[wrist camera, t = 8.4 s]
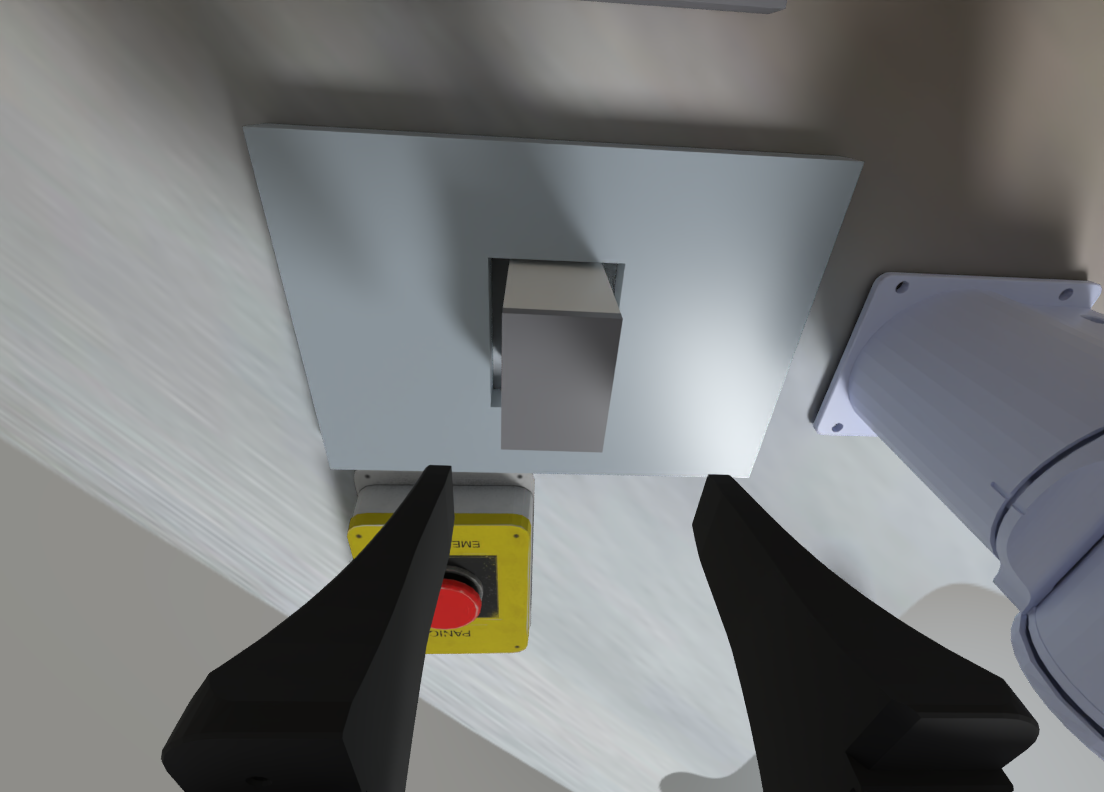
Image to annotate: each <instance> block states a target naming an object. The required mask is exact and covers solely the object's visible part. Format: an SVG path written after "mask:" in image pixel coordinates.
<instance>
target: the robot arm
mask: <svg viewBox="0 0 1104 792" xmlns="http://www.w3.org/2000/svg"><path fill="white" fill-rule="evenodd" d="M901 282H903V284H902V286H901V287H900V288H899V289H897V290H896V287H897V285H898V284H899V283H901ZM1101 291H1102V287H1101V286H1100V284H1097V283H1094V282H1091V281H1081V280H1059V279H1036V278H1014V277H991V276H968V275H946V274H923V273H901V272H887V273H884V274H882V275H880V276H879V277H878V278H877V279H876V280H875V282H874V283H873V286H872V288H871V290H870V293H869V295H868V297H867V300H866V302H865V304H864V307H863V309H862V311H861V314H860V316H859V318H858V321H857V323H856V325H855V328H854V330H853V332H852V335H851V337H850V339H849V342H848V344H847V346H846V349H845V351H844V353H843V356H842V358H841V360H840V363H839V365H838V367H837V370H836V372H835V374H834V377H833V379H832V381H831V384H830V386H829V389H828V391H827V393H826V396H825V398H824V400H823V403H822V405H821V407H820V410H819V412H818V414H817V417H816V419H815V421H814V425H813V427H814V429H815V430H816V432H817V433H819V434H821V435H841V436H878V437H879V438H880V439H881V440H882V441H883V442H884V443H885V444H886V445H887V446H888V447H889V448H890V449H891V450H892V451H893V452H894V453H895V454H896V455H897V456H898V457H899V458H900V459H901V460H902V461H903V462H904V463H905V464H906V465H907V466H908V467H909V468H910V470H911V471H912V472H913V473H914V474H915V475H916V476H917V477H918V478H919V479H920V480H921V481H922V482H923V483H924V484H925V485H926V486H927V487H928V488H929V489H930V490H931V491H932V492H933V493H934V494H935V495H936V496H937V497H938V498H939V499H940V500H941V501H942V502H943V503H944V504H945V505H946V506H947V507H948V508H949V509H950V510H951V511H952V512H953V513H954V514H955V515H956V517H957V518H958V519H959V520H960V521H961V522H962V523H963V524H964V525H965V526H966V527H967V528H968V529H969V530H970V531H971V532H972V533H973V534H974V535H975V536H976V537H977V538H978V539H979V540H980V541H981V542H982V543H983V544H984V545H985V546H986V547H987V548H988V549H989V550H990V551H991V552H992V553H993V554H994V555H995V556H996V557H997V558H998V559H999V560H1000V563H1001V565H1000V569H999V572H998V573H997V575H996V576H995V578H994V579H993V582H994V583H995V585H996V586H997V587H998V588H999V589H1000V590H1001V591H1002V592H1003V593H1004V594H1005V595H1006V596H1007V598H1008V599H1009V600H1010V601H1011V602H1012V603H1013V604H1014V605H1015V606H1016V607H1017V608H1018V609H1019V611H1020V612H1019V613H1018V614H1017V615H1016V616H1015V618H1014V621H1013V624H1012V627H1011V642H1012V646H1013V650H1014V654H1015V656H1016V659H1017V661H1018V663H1019V665H1020V668H1021V670H1022V671H1023V673H1024V675H1025V676H1026V678H1027V679H1028V681H1029V683H1030V684H1031V686H1032V687H1033V689H1034V690H1035V692H1036V693H1037V694H1038V695H1039V697H1040V698H1041V699H1042V700H1043V702H1044V703H1045V704H1046V705H1047V707H1048V708H1049V709H1050V710H1051V712H1052V713H1053V714H1054V715H1055V716H1056V717H1057V718H1058V719H1059V720H1060V721H1061V722H1062V723H1063V725H1064V726H1065V727H1066V728H1067V729H1069V730H1070V732H1072V733H1073V734H1074V735H1075V736H1076V737H1077V738H1078V739H1079V740H1080V741H1081V742H1082V743H1083V744H1084V745H1085V746H1086V747H1088V748H1089V749H1090V750H1091V751H1092V752H1094V753H1095V754H1096V755H1097V756H1098V757H1100V758H1101V759H1102V760H1103V761H1104V315H1103V314H1101V313H1098V312H1096V311H1093V310H1091V307H1092V306H1093V304H1094V303H1095V301H1096V300H1097V299H1098V297H1099V296H1100V294H1101ZM837 423H838V424H837ZM835 424H837V425H836V426H834V425H835ZM833 426H834V427H833ZM454 520H455V514H454V498H453V481H452V466H448V465H428V466H427V467H426V468H425V469H424V471H423V473H422V474H421V476H420V477H419V479H418V480H417V482H416V483H415V485H414V486H413V488H412V489H411V491H410V492H409V493H408V495H407V496H406V498H405V499H404V500H403V502H402V503H401V504H400V506H399V507H398V508H397V509H396V511H395V512H394V513H393V515H392V516H391V517H390V519H389V520H388V521H387V522H386V524H385V525H384V526H383V527H382V528H381V529H380V531H379V532H378V533H377V534H376V535H375V536H374V537H373V539H372V540H371V541H370V542H369V543H368V544H367V546H366V547H365V548H364V549H363V550H362V551H361V552H360V553H359V554H358V555H357V556H356V557H355V558H354V559H353V560H352V561H351V562H350V563H349V564H348V565H347V566H346V567H345V568H344V569H343V570H342V571H341V572H340V573H339V574H338V575H337V576H336V577H335V578H334V579H333V580H332V581H331V582H330V583H328V584H327V585H326V586H325V587H324V588H323V589H322V590H321V591H320V592H319V593H317V594H316V595H315V596H314V597H313V598H312V599H310V600H309V601H308V602H307V603H306V604H305V605H303V606H302V607H301V608H300V609H298V610H297V611H296V612H295V613H293V614H292V615H291V616H289V617H288V618H287V619H286V620H284V621H283V622H282V623H280V624H279V625H278V626H277V627H275V628H274V629H273V630H271V631H270V632H269V633H268V634H266V635H265V636H264V637H262V638H261V639H259V640H258V641H257V642H255V643H254V644H252V645H251V646H249V647H248V648H246V649H245V650H243V651H242V652H241V653H239V654H238V655H236V656H234V657H233V658H232V659H230V660H229V661H227V662H226V663H224V664H223V665H221V666H220V667H218V668H217V669H215V670H213V671H212V672H210V673H209V674H208V676H207V677H206V679H205V681H204V682H203V683H202V685H201V686H200V688H199V689H198V691H197V692H196V693H195V695H194V696H193V698H192V699H191V701H190V702H189V704H188V706H187V707H186V709H185V711H184V713H183V714H182V716H181V718H180V720H179V721H178V723H177V725H176V727H175V729H174V730H173V732H172V734H171V736H170V737H169V739H168V741H167V743H166V745H165V746H164V748H163V750H162V756H161V760H162V763H163V765H164V767H165V769H166V770H167V772H168V773H169V774H170V775H171V777H172V778H173V779H174V780H175V781H176V782H177V783H178V785H179V786H180V787H181V788H182V789H183V790H184V792H405V788H406V780H407V773H408V765H409V758H410V751H411V744H412V737H413V730H414V723H415V717H416V710H417V703H418V697H419V690H420V684H421V677H422V671H423V665H424V659H425V653H426V647H427V642H428V637H429V633H430V628H431V624H432V621H433V617H434V613H435V609H436V605H437V601H438V597H439V594H440V590H441V586H442V582H443V578H444V574H445V570H446V566H447V562H448V558H449V554H450V549H451V542H452V535H453V527H454ZM692 527H693V532H694V537H695V542H696V546H697V550H698V554H699V559H700V561H701V564H702V567H703V570H704V573H705V576H706V579H707V581H708V584H709V587H710V590H711V592H712V595H713V598H714V601H715V603H716V606H717V609H718V611H719V614H720V617H721V620H722V622H723V625H724V628H725V631H726V633H727V636H728V640H729V643H730V646H731V649H732V652H733V656H734V660H735V664H736V668H737V672H738V676H739V680H740V684H741V688H742V692H743V696H744V701H745V705H746V709H747V713H748V718H749V722H750V726H751V731H752V736H753V741H754V746H755V751H756V756H757V760H758V765H759V770H760V775H761V781H762V787H763V792H1012V791H1014V788H1013V784H1012V783H1011V782H1010V780H1009V779H1008V777H1007V776H1006V774H1005V773H1004V771H1003V770H1002V768H1003V767H1004V766H1005V765H1007V764H1008V763H1009V762H1011V761H1012V760H1013V759H1015V758H1016V757H1017V756H1019V755H1020V754H1021V753H1023V752H1024V751H1025V750H1027V749H1028V748H1029V747H1030V746H1031V745H1032V744H1033V743H1034V742H1035V741H1036V739H1037V737H1038V735H1039V725H1038V723H1037V721H1036V720H1035V719H1034V717H1033V716H1032V715H1031V714H1030V712H1029V711H1028V710H1027V708H1026V707H1025V706H1024V705H1023V703H1022V702H1021V701H1020V699H1019V698H1018V697H1017V696H1016V695H1015V693H1014V692H1013V691H1012V689H1011V688H1010V687H1009V686H1008V684H1007V683H1006V682H1005V681H1004V679H1002V678H1000V677H999V676H997V675H995V674H993V673H991V672H989V671H987V670H986V669H984V668H981V667H980V666H978V665H976V664H974V663H973V662H971V661H969V660H967V659H965V658H963V657H961V656H960V655H957V654H956V653H954V652H952V651H950V650H948V649H947V648H945V647H943V646H942V645H940V644H938V643H937V642H935V641H933V640H931V639H930V638H928V637H927V636H925V635H923V634H921V633H920V632H918V631H916V630H915V629H913V628H912V627H910V626H908V625H907V624H905V623H904V622H902V621H901V620H899V619H898V618H896V617H894V616H893V615H891V614H890V613H889V612H887V611H886V610H884V609H883V608H881V607H880V606H878V605H877V604H875V603H874V602H872V601H871V600H869V599H868V598H867V597H865V596H864V595H862V594H861V593H860V592H858V591H857V590H856V589H854V588H853V587H852V586H850V585H849V584H848V583H846V582H845V581H844V580H843V579H841V578H840V577H839V576H837V575H836V574H835V573H834V572H832V571H831V570H830V569H828V568H827V567H826V566H825V565H824V564H822V563H821V562H820V561H819V560H818V559H816V558H815V557H814V556H813V555H812V554H811V553H810V552H809V551H807V550H806V549H805V548H804V547H803V546H802V545H801V544H799V543H798V542H797V541H796V540H795V539H794V538H793V537H792V536H791V535H790V534H789V533H788V532H786V531H785V530H784V529H783V528H782V527H781V526H780V525H779V524H778V523H777V522H776V521H775V520H774V519H773V518H772V517H771V516H770V515H769V514H768V513H767V512H766V511H765V510H764V509H763V508H762V507H761V506H760V505H759V504H758V503H757V502H756V501H755V500H754V499H753V498H752V497H751V496H750V495H749V494H748V493H747V492H746V491H745V490H744V489H743V488H742V487H741V486H740V485H739V484H738V483H737V482H736V481H735V480H734V479H733V478H732V477H731V476H730V475H721V474H708V476H707V479H706V483H705V486H704V489H703V492H702V495H701V498H700V501H699V504H698V508H697V511H696V514H695V517H694V520H693V523H692Z"/></svg>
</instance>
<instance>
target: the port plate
mask: <svg viewBox="0 0 1104 792" xmlns="http://www.w3.org/2000/svg"><path fill="white" fill-rule="evenodd" d="M242 128H243V132H244V136H245V139H246V143H247V147H248V151H249V155H250V159H251V163H252V167H253V171H254V174H255V178H256V182H257V186H258V190H259V194H260V198H261V202H262V205H263V209H264V213H265V217H266V221H267V225H268V229H269V233H270V237H271V240H272V244H273V248H274V252H275V256H276V260H277V264H278V268H279V272H280V275H281V279H282V283H283V287H284V291H285V295H286V299H287V303H288V307H289V310H290V314H291V318H292V322H293V326H294V330H295V334H296V338H297V342H298V345H299V349H300V353H301V357H302V361H303V365H304V369H305V373H306V376H307V380H308V384H309V388H310V392H311V396H312V400H313V404H314V408H315V411H316V415H317V419H318V423H319V427H320V431H321V435H322V439H323V443H324V446H325V450H326V454H327V458H328V462H329V466H330V469H341V470H390V471H424V469H425V468H426V467H427V466H428V465H448V466H452V472H489V473H538V474H588V475H637V476H687V477H707V476H708V474H721V475H730V476H731V477H736V478H749V477H750V474H751V471H752V468H753V466H754V463H755V460H756V457H757V455H758V452H759V449H760V446H761V444H762V441H763V438H764V435H765V433H766V430H767V427H768V425H769V422H770V419H771V416H772V414H773V411H774V408H775V405H776V403H777V400H778V397H779V394H780V392H781V389H782V386H783V383H784V381H785V378H786V375H787V373H788V370H789V367H790V364H791V362H792V359H793V356H794V353H795V351H796V348H797V345H798V342H799V340H800V337H801V334H802V331H803V329H804V326H805V323H806V321H807V318H808V315H809V312H810V310H811V307H812V304H813V301H814V299H815V296H816V293H817V290H818V288H819V285H820V282H821V279H822V277H823V274H824V271H825V269H826V266H827V263H828V260H829V258H830V255H831V252H832V249H833V247H834V244H835V241H836V238H837V236H838V233H839V230H840V227H841V225H842V222H843V219H844V217H845V214H846V211H847V208H848V206H849V203H850V200H851V197H852V195H853V192H854V189H855V186H856V184H857V181H858V178H859V175H860V173H861V170H862V167H863V165H864V161H859V160H855V159H850V158H846V157H842V156H828V155H811V154H793V153H776V152H758V151H741V150H724V149H706V148H689V147H671V146H654V145H636V144H619V143H601V142H584V141H566V140H549V139H531V138H514V137H497V136H479V135H462V134H444V133H427V132H409V131H392V130H374V129H357V128H339V127H322V126H304V125H287V124H270V123H263V124H256V125H249V126H242ZM491 258H508V259H531V260H553V261H576V262H599V263H618V267H617V274H616V282H615V290H614V296H615V299H616V302H617V304H618V307H619V310H620V312H621V315H622V318H623V322H622V328H621V335H620V341H619V348H618V354H617V361H616V367H615V374H614V380H613V387H612V393H611V400H610V406H609V413H608V419H607V426H606V432H605V439H604V445H603V452H602V453H600V452H567V451H534V450H502V449H501V389H493V338H492V272H491Z"/></svg>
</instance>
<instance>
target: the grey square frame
mask: <svg viewBox="0 0 1104 792" xmlns="http://www.w3.org/2000/svg"><path fill="white" fill-rule="evenodd" d="M583 1H597V2H611V3H624V4H638V5H652V6H665V7H679V8H693V9H706V10H720V11H734V12H748V13H761V14H770V13H773V12H777V11H780V10H783V9H785V8H786V4H787V0H583Z"/></svg>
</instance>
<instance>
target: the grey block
mask: <svg viewBox="0 0 1104 792" xmlns="http://www.w3.org/2000/svg"><path fill="white" fill-rule="evenodd" d="M622 322H623V318H622V315H621V312H620V310H619V307H618V304H617V302H616V299H615V296H614V294H613V291H612V288H611V286H610V283H609V281H608V278H607V275H606V273H605V270H604V267H603V265H602V263H599V262H576V261H553V260H531V259H510V262H509V269H508V275H507V282H506V289H505V296H504V303H503V310H502V378H501V449H502V450H534V451H567V452H600V453H602V452H603V445H604V439H605V432H606V426H607V419H608V413H609V406H610V400H611V393H612V387H613V380H614V374H615V367H616V361H617V354H618V348H619V341H620V335H621V328H622Z"/></svg>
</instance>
